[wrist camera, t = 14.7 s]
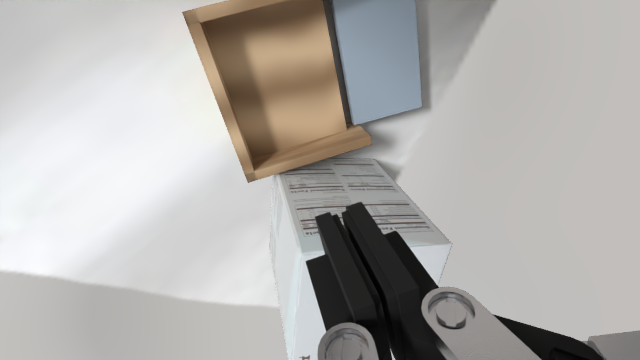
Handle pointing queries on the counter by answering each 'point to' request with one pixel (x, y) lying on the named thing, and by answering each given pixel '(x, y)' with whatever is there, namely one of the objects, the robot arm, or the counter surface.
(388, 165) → the counter surface
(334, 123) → the crate
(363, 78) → the panel
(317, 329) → the supplement box
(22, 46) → the counter surface
